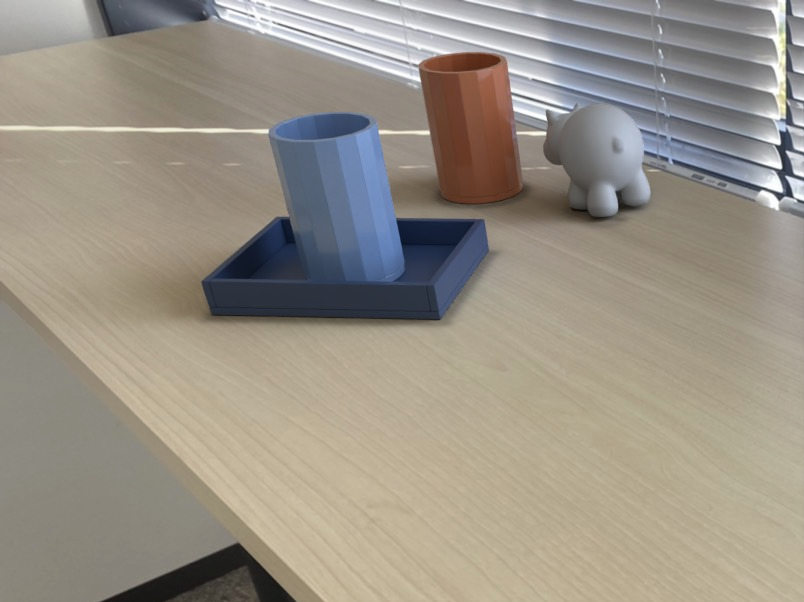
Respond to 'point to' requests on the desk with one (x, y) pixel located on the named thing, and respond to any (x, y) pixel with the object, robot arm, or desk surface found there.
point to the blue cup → (338, 196)
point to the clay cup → (472, 126)
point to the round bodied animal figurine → (598, 157)
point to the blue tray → (295, 296)
